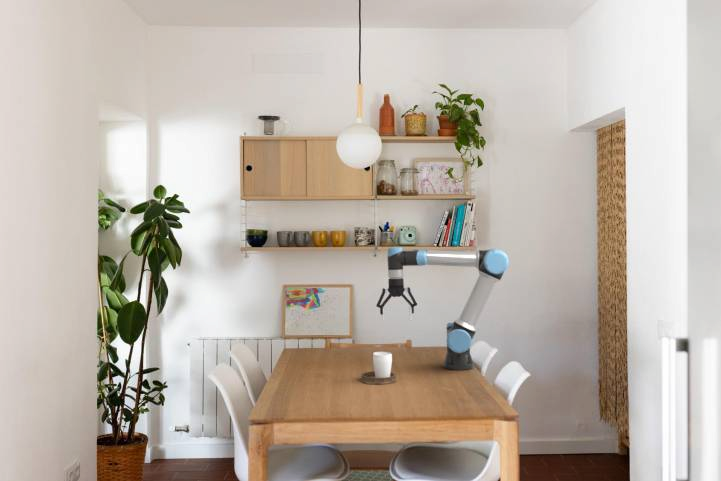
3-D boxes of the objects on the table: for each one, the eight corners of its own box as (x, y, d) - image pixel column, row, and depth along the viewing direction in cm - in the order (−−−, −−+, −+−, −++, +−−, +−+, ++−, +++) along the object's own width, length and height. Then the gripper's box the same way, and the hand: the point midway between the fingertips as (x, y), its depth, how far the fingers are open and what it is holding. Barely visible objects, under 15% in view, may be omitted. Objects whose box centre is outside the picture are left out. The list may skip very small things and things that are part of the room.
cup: (390, 381, 308) (390, 355, 308) (371, 380, 310) (371, 354, 310) (393, 377, 317) (393, 351, 317) (374, 376, 319) (374, 351, 319)
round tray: (395, 376, 322) (395, 370, 322) (397, 384, 305) (397, 378, 305) (360, 376, 322) (360, 371, 322) (360, 384, 305) (360, 378, 305)
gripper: (419, 276, 337) (421, 318, 338) (370, 278, 336) (371, 320, 336) (421, 277, 330) (423, 320, 330) (371, 279, 328) (372, 322, 329)
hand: (397, 320), depth 333 cm, fingers open, 13 cm apart
